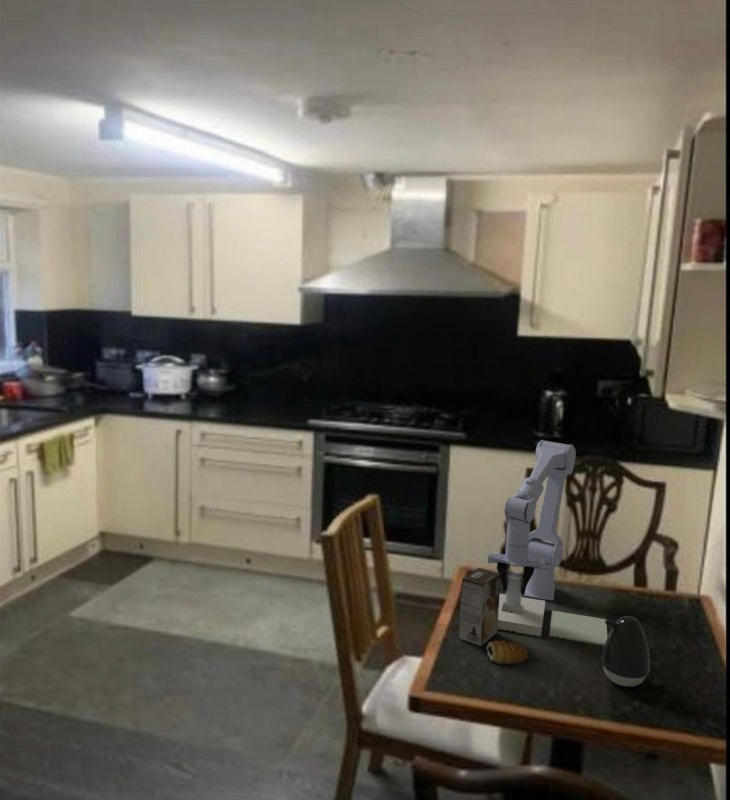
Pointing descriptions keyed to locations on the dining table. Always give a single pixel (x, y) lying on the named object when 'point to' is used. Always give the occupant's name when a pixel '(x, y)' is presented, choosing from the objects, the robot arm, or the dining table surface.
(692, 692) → the dining table surface
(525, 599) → the housing
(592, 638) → the mat
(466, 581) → the coffee box
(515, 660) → the pastry
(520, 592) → the cartridge
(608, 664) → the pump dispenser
